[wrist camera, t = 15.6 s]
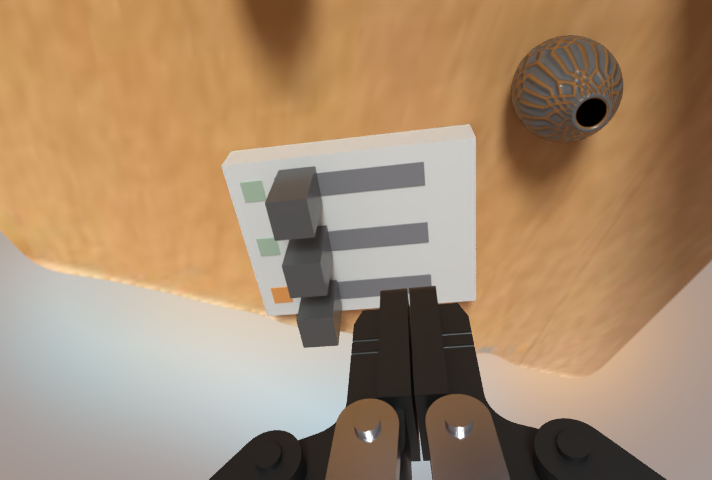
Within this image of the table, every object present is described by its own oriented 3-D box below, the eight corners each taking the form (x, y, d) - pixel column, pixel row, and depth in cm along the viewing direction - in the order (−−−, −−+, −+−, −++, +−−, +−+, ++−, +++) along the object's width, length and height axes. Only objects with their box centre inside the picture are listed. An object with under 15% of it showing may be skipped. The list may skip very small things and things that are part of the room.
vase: (613, 37, 35) (675, 65, 28) (574, 127, 39) (620, 174, 31) (521, 19, 34) (559, 43, 27) (490, 112, 38) (517, 156, 31)
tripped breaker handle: (336, 279, 43) (332, 317, 39) (342, 306, 45) (338, 345, 41) (304, 282, 44) (296, 319, 40) (310, 309, 46) (303, 347, 41)
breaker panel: (469, 124, 39) (489, 167, 32) (470, 280, 47) (487, 343, 40) (231, 151, 41) (199, 198, 34) (273, 296, 49) (255, 358, 42)
